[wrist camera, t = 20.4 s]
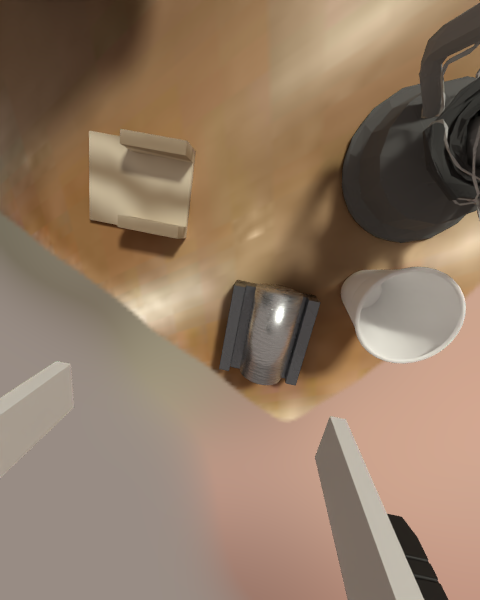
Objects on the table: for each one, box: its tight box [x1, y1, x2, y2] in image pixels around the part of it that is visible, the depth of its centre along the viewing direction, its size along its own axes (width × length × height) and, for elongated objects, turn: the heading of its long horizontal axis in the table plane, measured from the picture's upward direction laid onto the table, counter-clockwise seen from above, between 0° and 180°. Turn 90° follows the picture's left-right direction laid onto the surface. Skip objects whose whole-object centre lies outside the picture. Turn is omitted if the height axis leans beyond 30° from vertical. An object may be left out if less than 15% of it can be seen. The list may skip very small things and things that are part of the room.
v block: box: [219, 280, 320, 385], centre depth 34 cm, size 13×12×4 cm
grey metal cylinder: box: [240, 284, 303, 385], centre depth 31 cm, size 6×12×6 cm, turn 170°
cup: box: [341, 267, 466, 363], centre depth 28 cm, size 10×10×11 cm
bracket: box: [89, 129, 196, 239], centre depth 30 cm, size 11×14×4 cm
